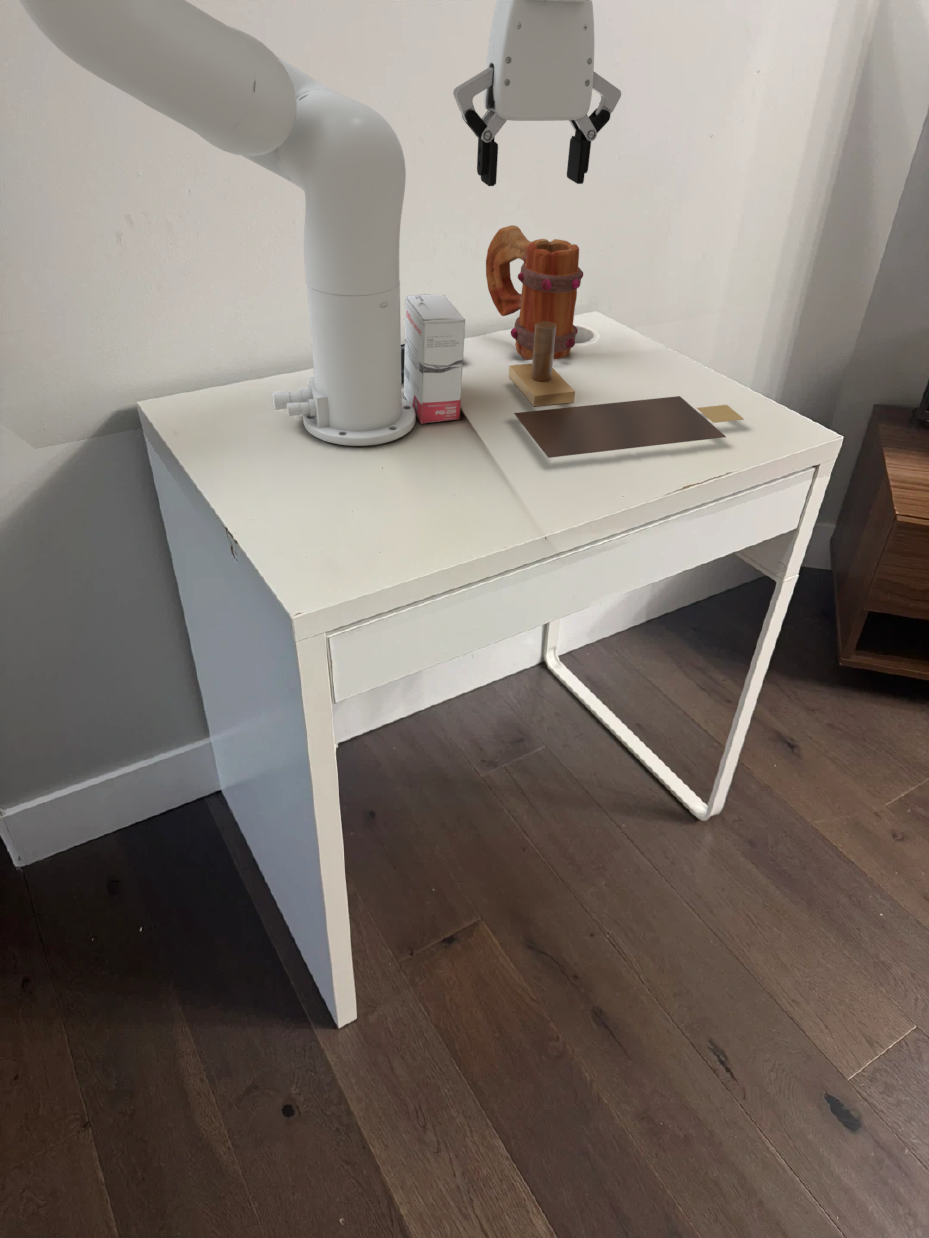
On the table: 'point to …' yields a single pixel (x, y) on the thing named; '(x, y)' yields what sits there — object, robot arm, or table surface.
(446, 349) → the ink box
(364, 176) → the robot arm
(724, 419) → the tan rectangular block
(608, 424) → the board
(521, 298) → the mug
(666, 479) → the table surface
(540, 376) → the wooden rubber stamp
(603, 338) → the table surface
